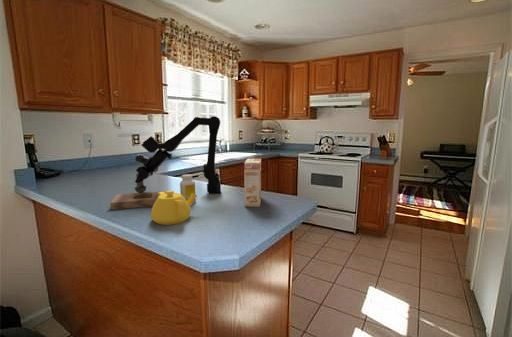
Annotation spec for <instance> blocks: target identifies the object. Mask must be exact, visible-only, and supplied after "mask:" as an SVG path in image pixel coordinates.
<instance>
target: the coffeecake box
mask: <svg viewBox="0 0 512 337" xmlns="http://www.w3.org/2000/svg"><path fill="white" fill-rule="evenodd" d="M243 164H244V165H243V166H244V168H243V169H244V171H243V174H244V176H243V177H244V182H243V183H244V185H243V186H244V191H243V193H244V207H257V208H259V207H260V206H261V202H262V201H261V200H262V158H246V160H245V161H244V163H243Z"/></svg>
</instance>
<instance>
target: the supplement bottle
mask: <svg viewBox="0 0 512 337" xmlns="http://www.w3.org/2000/svg"><path fill="white" fill-rule="evenodd" d="M181 179H182V180H181V181H180V182H179V188H180V194H181V195H182V196H183V197H184V198H185V200H186V201H187V200H188V199H189V197H190V196H191V194H192V193H193V194H195V195H196V182H195V180H193V174H189V173H187V174H186V173H185V174H181ZM196 201H197V197H196V198H195V200H194V201H193V203H192V204H194V203H196Z"/></svg>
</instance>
